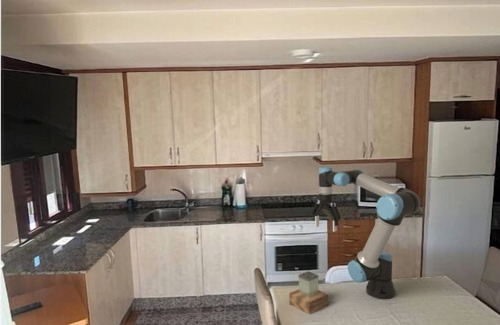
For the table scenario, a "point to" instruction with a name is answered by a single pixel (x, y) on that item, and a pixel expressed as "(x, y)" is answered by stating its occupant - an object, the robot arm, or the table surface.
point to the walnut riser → (308, 301)
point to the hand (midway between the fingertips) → (325, 228)
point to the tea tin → (308, 284)
